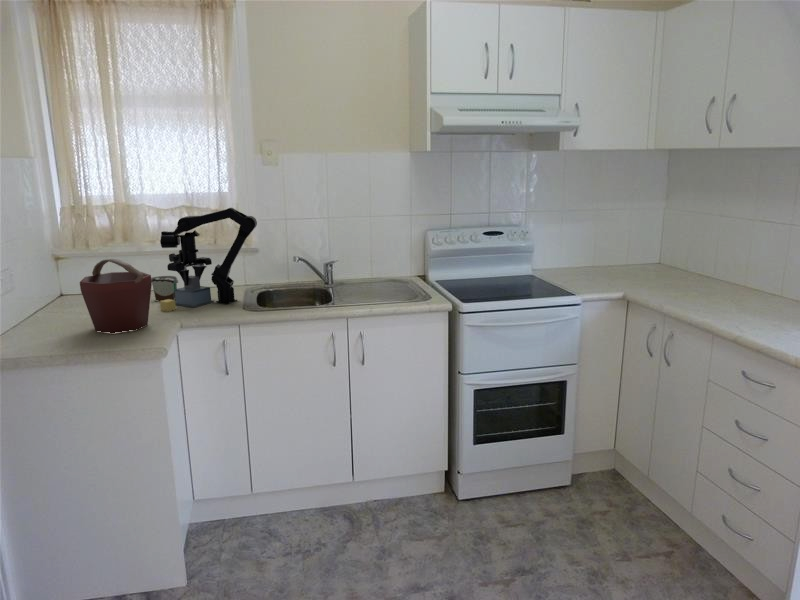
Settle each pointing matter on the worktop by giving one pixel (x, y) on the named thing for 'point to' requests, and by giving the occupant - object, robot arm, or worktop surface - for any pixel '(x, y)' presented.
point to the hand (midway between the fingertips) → (192, 284)
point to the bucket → (117, 298)
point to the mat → (195, 305)
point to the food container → (164, 287)
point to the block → (167, 305)
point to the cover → (193, 293)
